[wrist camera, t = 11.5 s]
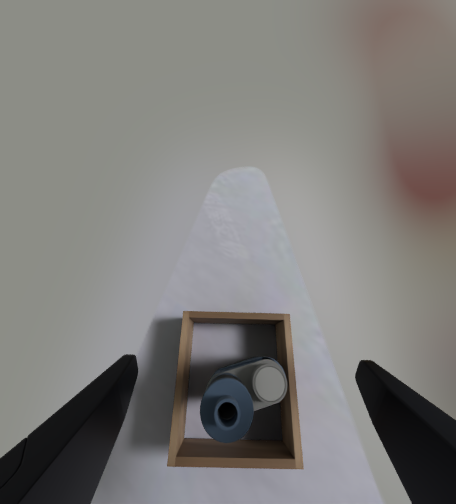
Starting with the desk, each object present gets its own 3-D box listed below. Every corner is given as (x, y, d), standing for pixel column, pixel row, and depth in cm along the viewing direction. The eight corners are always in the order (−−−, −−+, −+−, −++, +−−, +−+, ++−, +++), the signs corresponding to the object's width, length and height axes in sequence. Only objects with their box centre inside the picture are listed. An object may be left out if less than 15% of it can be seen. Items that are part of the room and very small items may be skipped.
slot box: (289, 448, 18) (303, 469, 15) (177, 446, 18) (167, 466, 15) (279, 319, 22) (289, 313, 19) (189, 317, 22) (183, 311, 19)
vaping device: (208, 370, 20) (189, 387, 9) (263, 353, 21) (306, 350, 10) (215, 403, 19) (203, 466, 8) (272, 384, 20) (333, 419, 9)
